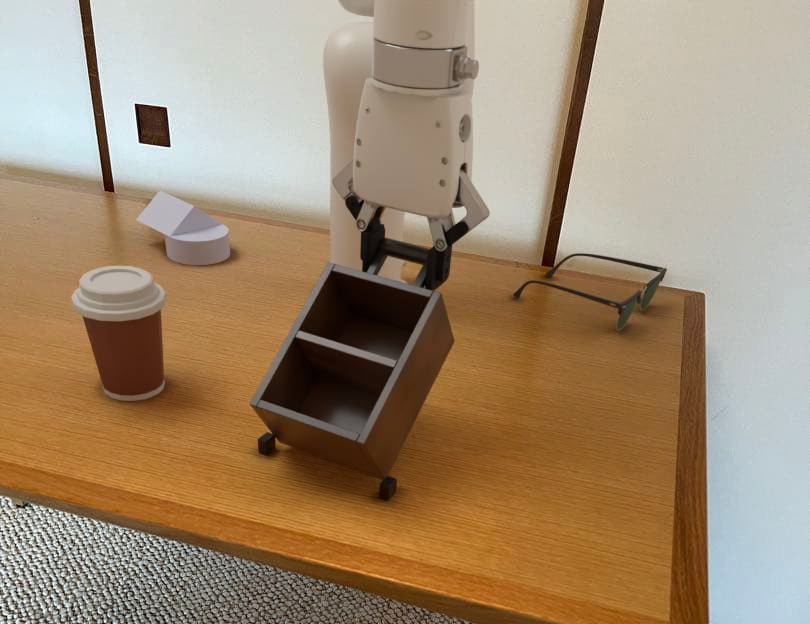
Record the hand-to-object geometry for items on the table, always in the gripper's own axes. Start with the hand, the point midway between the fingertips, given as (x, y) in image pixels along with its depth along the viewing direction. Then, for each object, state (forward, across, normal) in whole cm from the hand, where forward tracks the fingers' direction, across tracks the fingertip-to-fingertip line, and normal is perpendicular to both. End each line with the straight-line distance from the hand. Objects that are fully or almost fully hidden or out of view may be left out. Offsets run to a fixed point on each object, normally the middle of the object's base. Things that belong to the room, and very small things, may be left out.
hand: (403, 276), depth 78 cm
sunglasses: (+15, -9, -40) cm, 44 cm away
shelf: (+8, 0, +4) cm, 9 cm away
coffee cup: (+15, +26, +11) cm, 32 cm away
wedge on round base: (+15, +47, -24) cm, 55 cm away
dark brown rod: (+15, 0, +14) cm, 20 cm away
